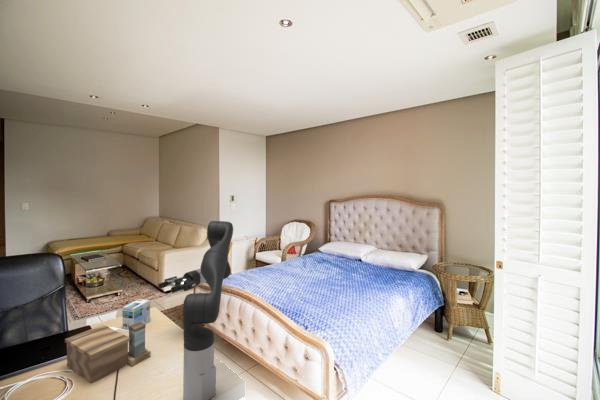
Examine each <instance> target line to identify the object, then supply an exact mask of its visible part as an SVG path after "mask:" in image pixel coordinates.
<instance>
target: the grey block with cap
mask: <svg viewBox="0 0 600 400" xmlns="http://www.w3.org/2000/svg"><path fill="white" fill-rule="evenodd" d="M128 337H129V338H130V341H129V342H128V352H129V356H131V357H133V358H136V357H138V356H140V355H141V354H143V353H145V349H146V324H143V323H141V322H138V323H135V324H133V325H130V326H129V332H128Z"/></svg>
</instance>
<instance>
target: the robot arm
mask: <svg viewBox="0 0 600 400" xmlns="http://www.w3.org/2000/svg"><path fill="white" fill-rule="evenodd" d="M233 235H234V225H233V223H232V222H230V221H222V220H212V221H210V222H209V223H208V225H207V229H206V237H207V242H208V244H209V247H210V248H209V249H207V251H205V252H204V255H203V257H202V260H201V264H200V268H197V269H194V270H191V271H187V272H185V273H184V274H183V275H182V276H180V277H178V276H173V277H168V278H165V279H164V281H162V282H159V283H158V285H157V287H158V290H159V289H164V288H167V287H171V288H170V293H172V294H173V293H176V292H179V291H180V292H181V291H183V292H187V291H190V290H192V289H194V288H196V287H198V286H202V285H203V284H205V283H207V284H208V287H209V289H210V292H198V293H197V292H196V293H193V292H192V293H189V294H187V295H186V296H185V298H184V300H183V304H182V323H183V326H182V327H183V375H182V377H183V379H182V382H183V384H182V385H183V386H182V387H183V390H182V399H183V400H209V399H210V398H211V397H212V396H213V397H214V396H215V395H216V394H217V392H216V391H217V390H216V389H217V387H216V383H217V366H216V365H214V362H215V333H214V331H213V330H212V329H211V328H208V327H205V326H203V325H204V324H205V325H208V324H213V323H215V322H216V321H217V319H218V317H219V313H220V309H221V308H220V307H221V298H222V297H221V296H222V290H223V289H222V287H223V283H224V282H223V281H224V280H225V279H226V280H227V279H228V278H229V276H230V275H231V273H232V269H231V265H230V262H229V259H228V258H229V257H228V256H229V250H230V245H231V241H232V238H233ZM213 397H212V398H213ZM212 398H211V399H212ZM211 399H210V400H211Z"/></svg>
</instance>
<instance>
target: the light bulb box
mask: <svg viewBox="0 0 600 400" xmlns="http://www.w3.org/2000/svg"><path fill="white" fill-rule="evenodd" d="M138 322H141V323H143V324H145V325H146V324H148V323H149V322H151V300H150V299H142V298H138V299H136V300H134V301H133V302H130V303H128V304H126V305H124V306H122V324H121V325H122V328H121V329H124V330H129V326H130V325H133V324H135V323H138Z"/></svg>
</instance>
